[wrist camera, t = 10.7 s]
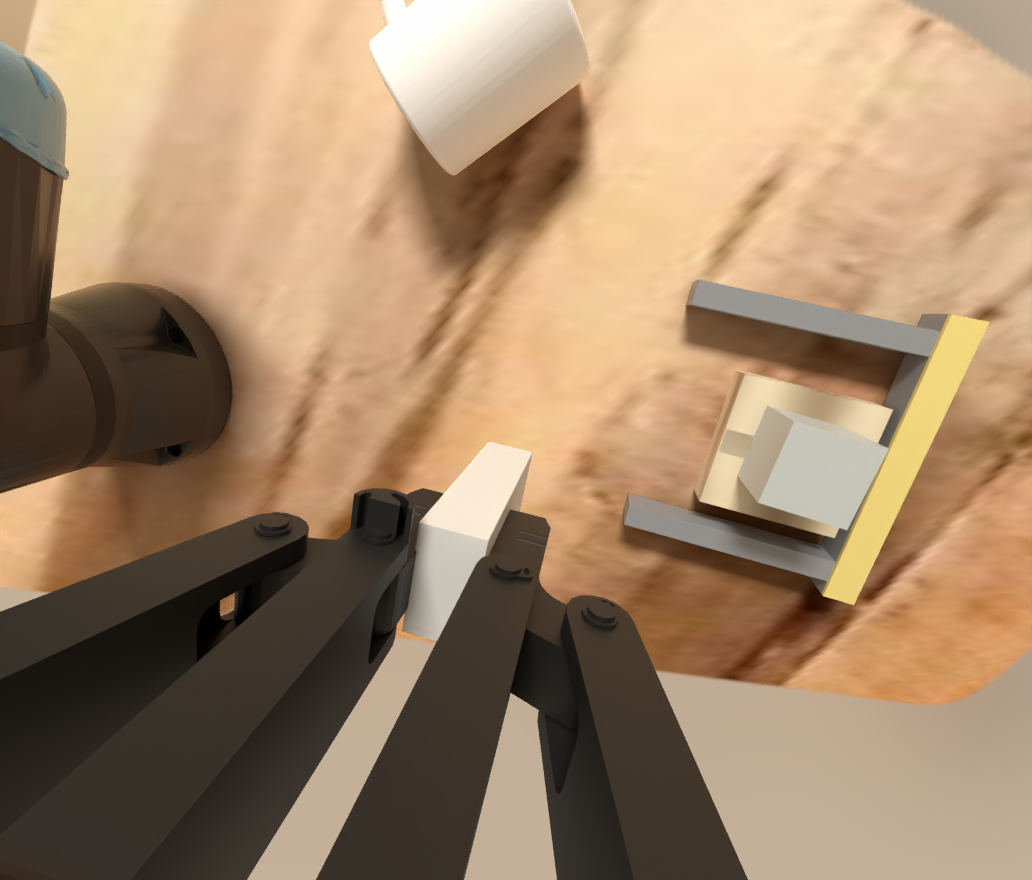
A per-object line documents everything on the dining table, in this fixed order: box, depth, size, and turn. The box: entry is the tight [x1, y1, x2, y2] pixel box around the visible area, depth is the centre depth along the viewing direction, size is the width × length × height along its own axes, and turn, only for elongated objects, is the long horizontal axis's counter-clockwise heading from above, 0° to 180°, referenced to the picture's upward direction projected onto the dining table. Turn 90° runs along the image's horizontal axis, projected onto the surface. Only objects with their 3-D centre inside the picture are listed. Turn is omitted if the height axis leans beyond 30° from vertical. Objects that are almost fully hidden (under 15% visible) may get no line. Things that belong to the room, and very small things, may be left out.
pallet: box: [694, 370, 893, 538], centre depth 34 cm, size 9×9×3 cm
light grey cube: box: [737, 405, 889, 530], centre depth 30 cm, size 5×5×5 cm
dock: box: [623, 280, 990, 605], centre depth 33 cm, size 16×19×3 cm
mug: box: [369, 0, 590, 175], centre depth 28 cm, size 12×10×8 cm
